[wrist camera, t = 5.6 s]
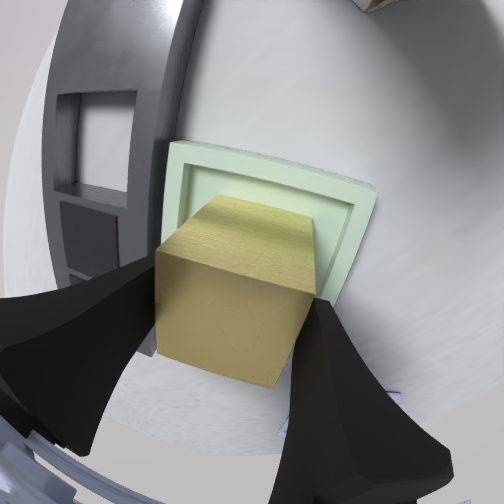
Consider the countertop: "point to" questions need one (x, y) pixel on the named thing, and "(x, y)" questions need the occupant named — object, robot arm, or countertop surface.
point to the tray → (273, 200)
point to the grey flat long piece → (142, 137)
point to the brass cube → (235, 289)
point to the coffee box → (372, 4)
